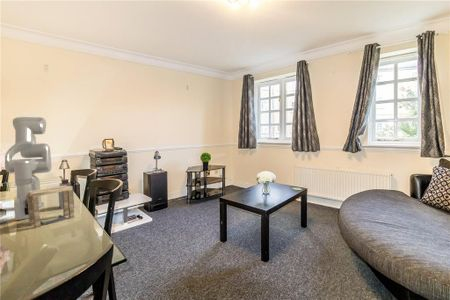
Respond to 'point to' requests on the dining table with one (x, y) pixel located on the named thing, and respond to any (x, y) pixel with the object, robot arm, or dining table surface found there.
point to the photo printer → (20, 210)
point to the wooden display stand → (33, 195)
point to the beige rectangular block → (64, 182)
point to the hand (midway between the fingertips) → (26, 213)
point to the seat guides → (53, 220)
